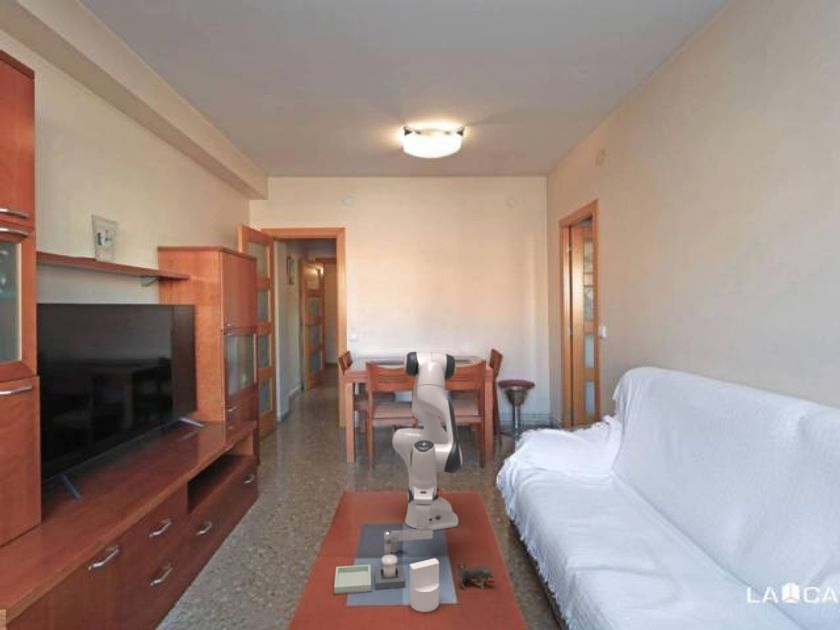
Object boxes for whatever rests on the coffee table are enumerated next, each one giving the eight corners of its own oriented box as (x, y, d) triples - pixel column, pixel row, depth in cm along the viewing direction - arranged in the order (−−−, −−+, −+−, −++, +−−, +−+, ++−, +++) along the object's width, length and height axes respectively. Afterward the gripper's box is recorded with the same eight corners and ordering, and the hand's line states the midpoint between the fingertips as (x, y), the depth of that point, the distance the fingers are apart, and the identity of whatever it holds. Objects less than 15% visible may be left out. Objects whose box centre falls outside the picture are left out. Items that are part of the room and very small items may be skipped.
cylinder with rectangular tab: (416, 615, 135) (416, 574, 135) (405, 597, 144) (405, 559, 143) (444, 607, 139) (444, 568, 139) (431, 590, 147) (431, 553, 147)
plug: (396, 574, 156) (396, 554, 156) (397, 583, 151) (397, 562, 151) (381, 575, 155) (381, 555, 155) (381, 584, 150) (382, 563, 150)
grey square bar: (384, 542, 161) (384, 534, 161) (383, 538, 164) (383, 530, 164) (433, 539, 164) (433, 531, 164) (431, 535, 166) (431, 527, 166)
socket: (400, 559, 165) (401, 538, 165) (405, 587, 149) (405, 563, 149) (374, 561, 164) (374, 539, 164) (375, 589, 148) (375, 565, 148)
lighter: (385, 552, 170) (385, 531, 170) (386, 550, 172) (386, 528, 171) (404, 553, 169) (404, 532, 169) (404, 551, 171) (404, 530, 170)
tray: (370, 570, 158) (370, 564, 158) (371, 591, 146) (371, 584, 146) (336, 573, 157) (336, 566, 157) (334, 594, 145) (334, 587, 145)
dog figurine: (458, 590, 147) (458, 567, 147) (457, 580, 153) (457, 558, 153) (495, 590, 147) (495, 567, 147) (493, 580, 153) (493, 557, 153)
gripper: (417, 476, 172) (417, 512, 173) (413, 501, 152) (413, 541, 153) (433, 476, 172) (434, 512, 173) (432, 501, 152) (432, 542, 152)
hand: (424, 526), depth 163 cm, fingers closed
